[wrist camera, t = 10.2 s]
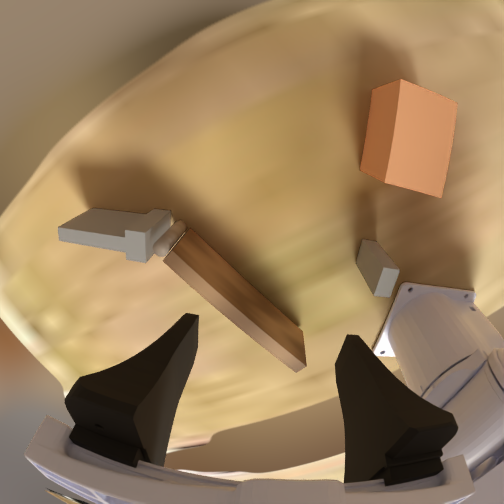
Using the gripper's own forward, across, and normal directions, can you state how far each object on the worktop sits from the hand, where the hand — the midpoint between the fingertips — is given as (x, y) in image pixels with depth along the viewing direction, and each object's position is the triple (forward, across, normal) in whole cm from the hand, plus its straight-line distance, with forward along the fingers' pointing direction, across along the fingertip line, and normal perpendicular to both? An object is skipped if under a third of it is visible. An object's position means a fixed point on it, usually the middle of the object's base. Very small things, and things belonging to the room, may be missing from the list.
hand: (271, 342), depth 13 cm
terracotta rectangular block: (+9, -7, -11) cm, 16 cm away
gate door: (+9, +7, -2) cm, 12 cm away
